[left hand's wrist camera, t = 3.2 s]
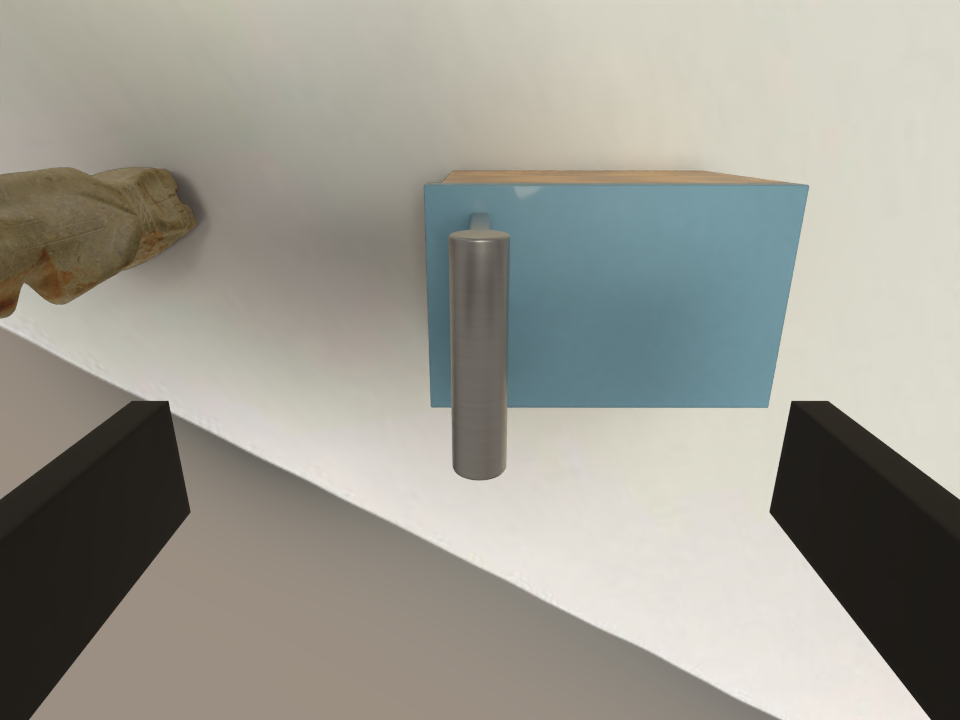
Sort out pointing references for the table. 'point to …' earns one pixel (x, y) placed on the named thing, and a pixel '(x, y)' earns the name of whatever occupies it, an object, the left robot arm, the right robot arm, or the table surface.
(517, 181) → the chest
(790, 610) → the table surface
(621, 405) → the lid
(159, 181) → the sculpture
